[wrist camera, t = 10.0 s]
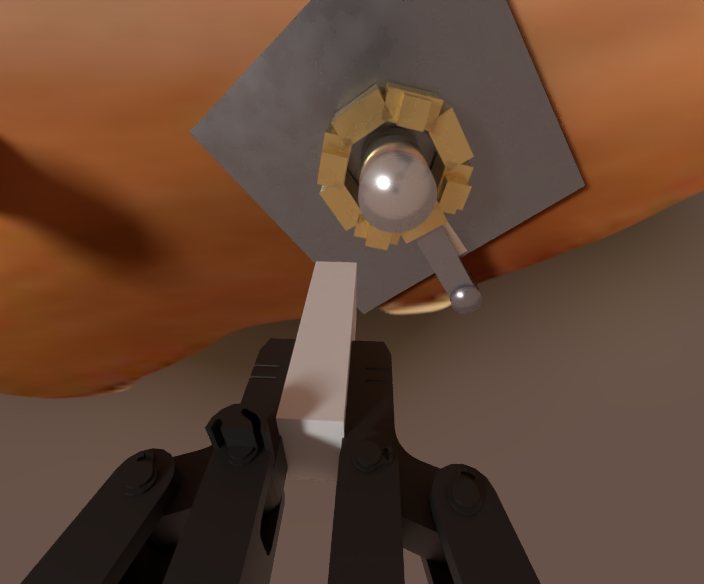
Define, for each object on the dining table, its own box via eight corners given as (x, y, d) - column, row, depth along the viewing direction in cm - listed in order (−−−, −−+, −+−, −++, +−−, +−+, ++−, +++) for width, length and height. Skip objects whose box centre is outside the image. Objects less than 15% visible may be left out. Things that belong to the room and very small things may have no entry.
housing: (438, -131, 22) (486, -251, 13) (574, 178, 32) (652, 230, 23) (198, 127, 31) (129, 162, 22) (363, 303, 41) (361, 375, 32)
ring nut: (299, 139, 29) (285, 157, 24) (420, 51, 25) (431, 53, 21) (416, 311, 39) (422, 346, 34) (517, 266, 35) (538, 299, 30)
